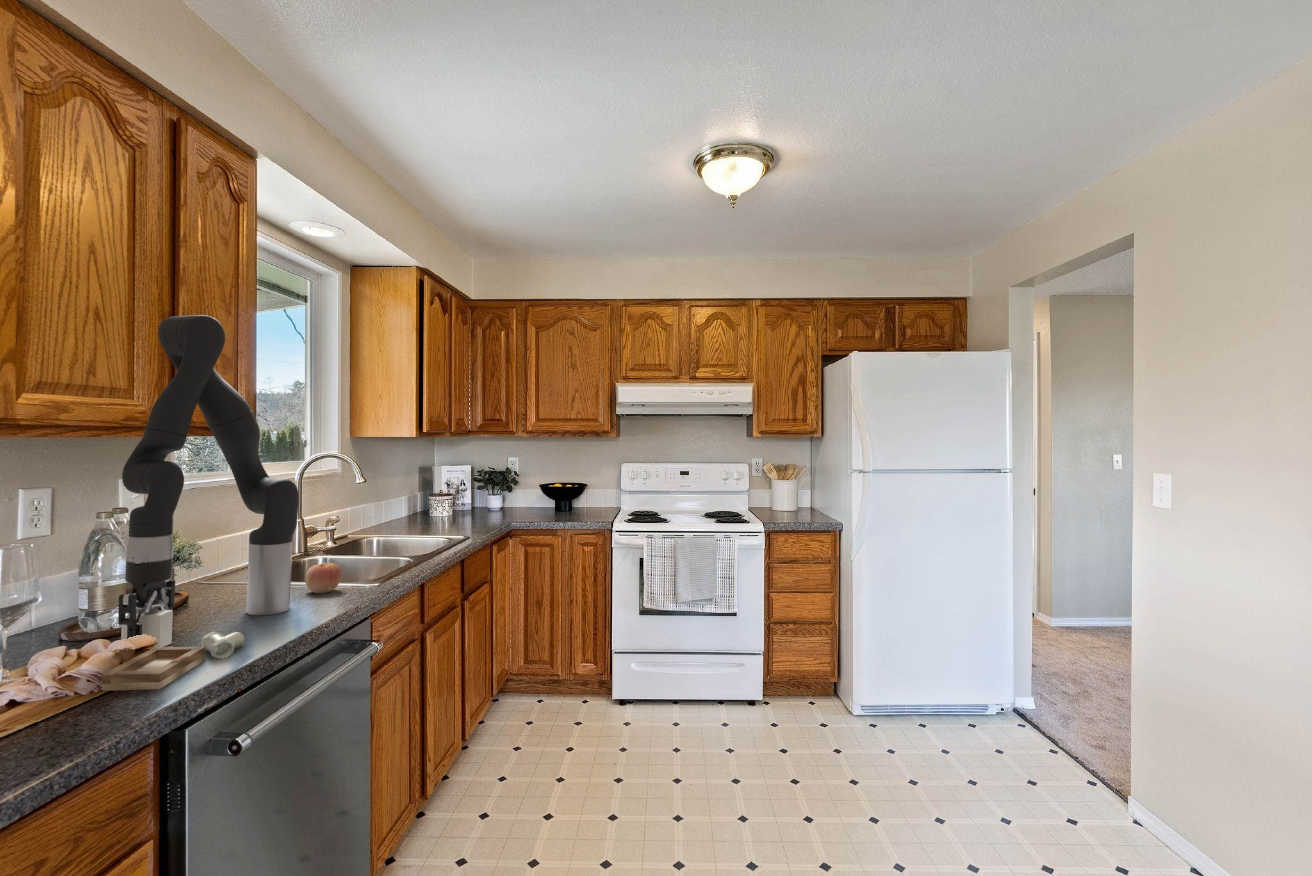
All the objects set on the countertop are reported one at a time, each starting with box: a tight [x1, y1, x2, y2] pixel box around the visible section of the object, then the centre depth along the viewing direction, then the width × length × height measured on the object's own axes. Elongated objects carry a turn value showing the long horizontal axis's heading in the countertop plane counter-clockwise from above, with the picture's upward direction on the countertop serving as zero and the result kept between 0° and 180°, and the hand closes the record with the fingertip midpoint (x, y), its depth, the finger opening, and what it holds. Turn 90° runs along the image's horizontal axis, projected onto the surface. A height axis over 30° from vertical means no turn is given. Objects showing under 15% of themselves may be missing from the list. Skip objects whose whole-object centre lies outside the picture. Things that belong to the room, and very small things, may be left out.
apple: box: [305, 562, 342, 594], centre depth 174 cm, size 9×9×8 cm
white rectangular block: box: [120, 607, 174, 647], centre depth 127 cm, size 4×7×8 cm, turn 99°
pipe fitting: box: [201, 630, 246, 660], centre depth 125 cm, size 8×4×7 cm
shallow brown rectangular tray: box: [100, 646, 206, 692], centre depth 113 cm, size 14×9×3 cm, turn 9°
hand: (146, 637), depth 127 cm, fingers open, 7 cm apart
